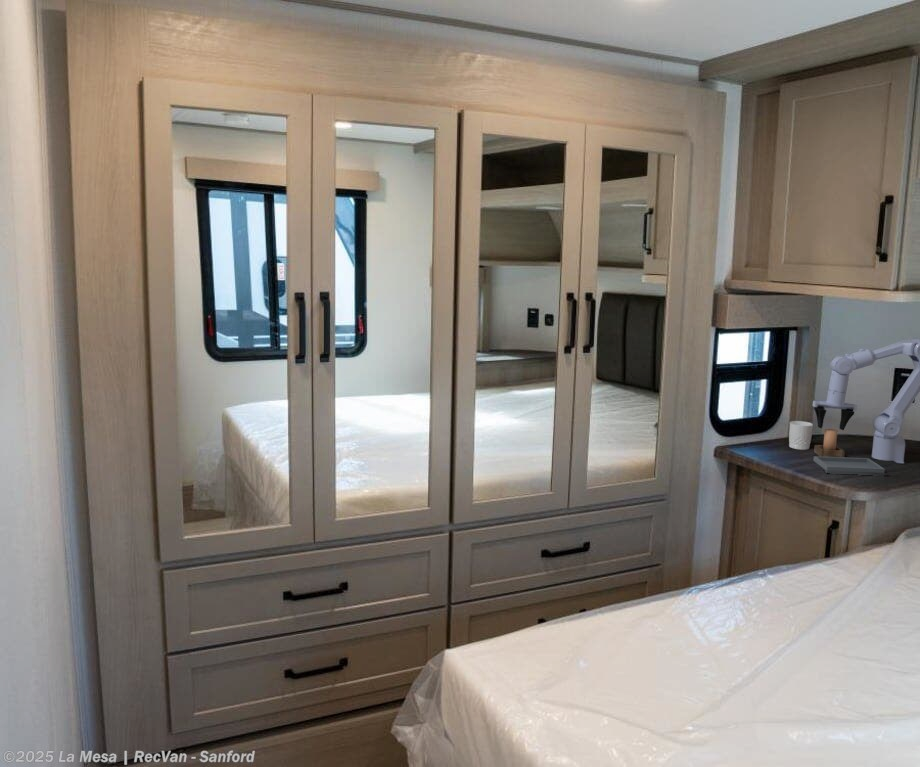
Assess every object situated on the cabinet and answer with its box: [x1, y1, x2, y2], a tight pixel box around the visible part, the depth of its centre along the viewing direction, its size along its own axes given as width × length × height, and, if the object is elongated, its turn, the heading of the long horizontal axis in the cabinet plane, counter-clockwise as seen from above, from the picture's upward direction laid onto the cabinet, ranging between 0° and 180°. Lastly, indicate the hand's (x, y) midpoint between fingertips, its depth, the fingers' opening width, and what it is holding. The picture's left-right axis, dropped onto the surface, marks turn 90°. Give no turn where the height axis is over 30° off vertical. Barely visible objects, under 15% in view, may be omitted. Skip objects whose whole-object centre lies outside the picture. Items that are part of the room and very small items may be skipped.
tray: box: [813, 455, 886, 477], centre depth 257 cm, size 18×13×2 cm
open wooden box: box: [813, 444, 846, 457], centre depth 272 cm, size 8×8×4 cm
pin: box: [822, 428, 838, 450], centre depth 271 cm, size 4×4×9 cm
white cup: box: [788, 420, 814, 451], centre depth 282 cm, size 8×8×10 cm
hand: (830, 428), depth 270 cm, fingers open, 7 cm apart
